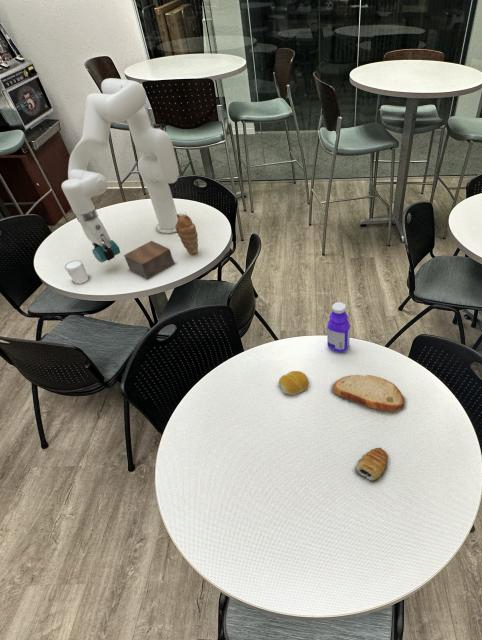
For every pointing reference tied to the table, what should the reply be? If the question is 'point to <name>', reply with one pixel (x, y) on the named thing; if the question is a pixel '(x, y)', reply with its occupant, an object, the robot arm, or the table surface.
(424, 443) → the table surface
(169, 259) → the stand
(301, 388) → the bread roll
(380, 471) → the pastry
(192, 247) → the brown ridged oblong lump
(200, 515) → the table surface
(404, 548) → the table surface
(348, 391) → the bread slice
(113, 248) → the drinking cup
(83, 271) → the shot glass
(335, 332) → the bottle
